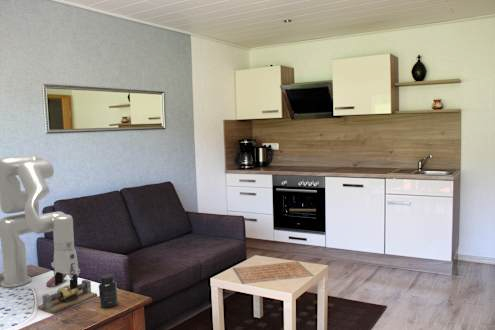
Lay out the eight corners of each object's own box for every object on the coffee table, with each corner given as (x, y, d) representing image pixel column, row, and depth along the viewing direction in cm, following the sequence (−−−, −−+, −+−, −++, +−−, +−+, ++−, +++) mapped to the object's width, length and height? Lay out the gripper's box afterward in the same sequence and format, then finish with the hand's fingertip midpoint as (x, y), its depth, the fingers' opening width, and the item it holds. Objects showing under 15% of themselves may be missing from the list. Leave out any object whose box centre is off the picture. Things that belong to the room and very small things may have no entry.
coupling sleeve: (70, 293, 183) (70, 282, 183) (78, 296, 181) (77, 285, 180) (57, 298, 178) (57, 287, 178) (65, 301, 176) (64, 290, 175)
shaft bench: (37, 308, 174) (36, 293, 174) (80, 291, 191) (79, 277, 190) (54, 314, 168) (53, 299, 168) (97, 296, 185) (96, 282, 184)
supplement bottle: (99, 303, 178) (97, 274, 177) (116, 300, 181) (115, 272, 179) (100, 309, 172) (99, 280, 170) (118, 306, 174) (117, 277, 173)
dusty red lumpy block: (53, 290, 197) (58, 277, 196) (44, 286, 198) (49, 272, 197) (65, 282, 207) (71, 270, 206) (57, 278, 207) (62, 265, 206)
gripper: (85, 246, 176) (87, 287, 178) (59, 240, 185) (61, 279, 187) (69, 251, 170) (71, 293, 172) (42, 244, 179) (45, 284, 181)
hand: (66, 286), depth 179 cm, fingers open, 9 cm apart
